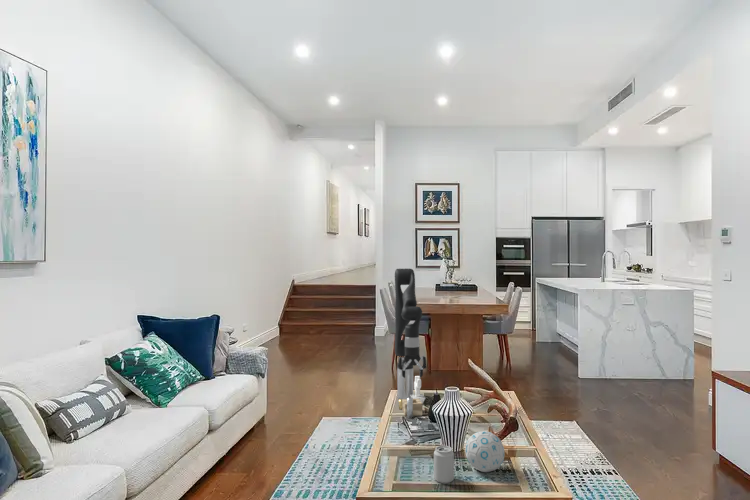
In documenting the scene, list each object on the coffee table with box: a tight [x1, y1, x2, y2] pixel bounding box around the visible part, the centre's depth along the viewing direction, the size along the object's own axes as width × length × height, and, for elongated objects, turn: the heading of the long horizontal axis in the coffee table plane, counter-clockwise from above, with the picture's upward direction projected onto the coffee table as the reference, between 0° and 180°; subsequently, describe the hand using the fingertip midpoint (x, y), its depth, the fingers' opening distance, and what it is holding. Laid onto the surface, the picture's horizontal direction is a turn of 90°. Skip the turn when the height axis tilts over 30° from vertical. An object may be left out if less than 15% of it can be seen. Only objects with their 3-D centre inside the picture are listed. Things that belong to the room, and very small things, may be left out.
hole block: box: [401, 399, 423, 417], centre depth 273 cm, size 9×9×6 cm
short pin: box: [398, 398, 402, 411], centre depth 280 cm, size 3×3×5 cm
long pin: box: [406, 397, 414, 419], centre depth 266 cm, size 3×3×10 cm
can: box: [433, 445, 455, 484], centre depth 197 cm, size 8×8×12 cm
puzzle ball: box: [464, 430, 505, 473], centre depth 205 cm, size 15×15×15 cm
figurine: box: [410, 375, 426, 405], centre depth 290 cm, size 7×9×15 cm
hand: (412, 377), depth 266 cm, fingers open, 8 cm apart
